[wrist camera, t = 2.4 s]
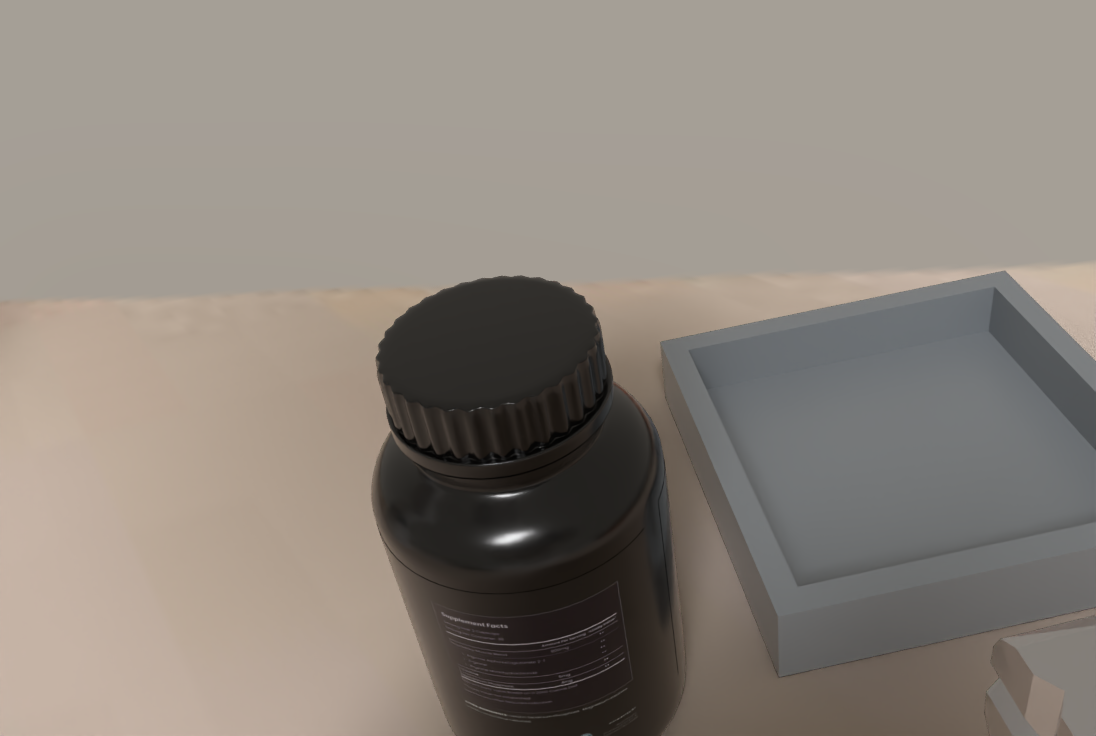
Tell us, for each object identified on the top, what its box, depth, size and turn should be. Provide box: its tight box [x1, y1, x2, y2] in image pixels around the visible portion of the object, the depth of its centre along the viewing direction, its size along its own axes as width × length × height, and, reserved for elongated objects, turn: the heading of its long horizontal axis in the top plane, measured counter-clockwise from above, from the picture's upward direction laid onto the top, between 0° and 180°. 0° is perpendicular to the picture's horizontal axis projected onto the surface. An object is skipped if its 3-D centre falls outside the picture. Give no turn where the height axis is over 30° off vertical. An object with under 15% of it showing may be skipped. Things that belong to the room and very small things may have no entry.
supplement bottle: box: [371, 276, 686, 736], centre depth 25 cm, size 7×7×12 cm
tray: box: [660, 271, 1096, 677], centre depth 33 cm, size 13×13×2 cm
